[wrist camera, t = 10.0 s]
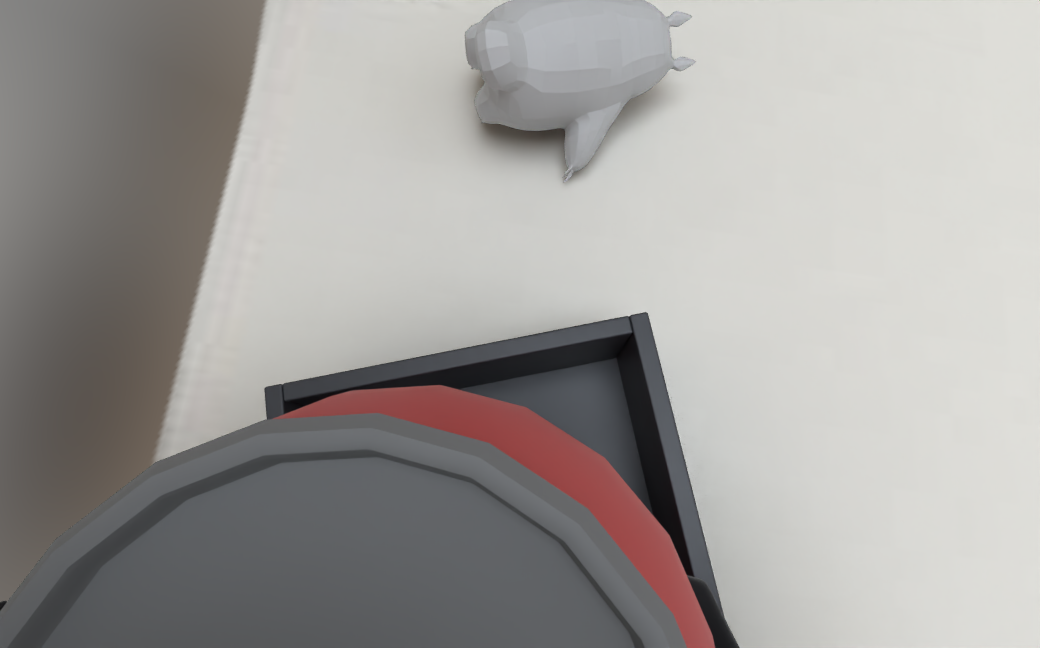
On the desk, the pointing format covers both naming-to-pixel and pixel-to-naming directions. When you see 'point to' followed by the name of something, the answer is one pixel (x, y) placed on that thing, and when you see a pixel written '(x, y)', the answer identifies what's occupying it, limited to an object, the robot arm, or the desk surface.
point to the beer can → (368, 541)
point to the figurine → (569, 65)
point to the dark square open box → (564, 407)
